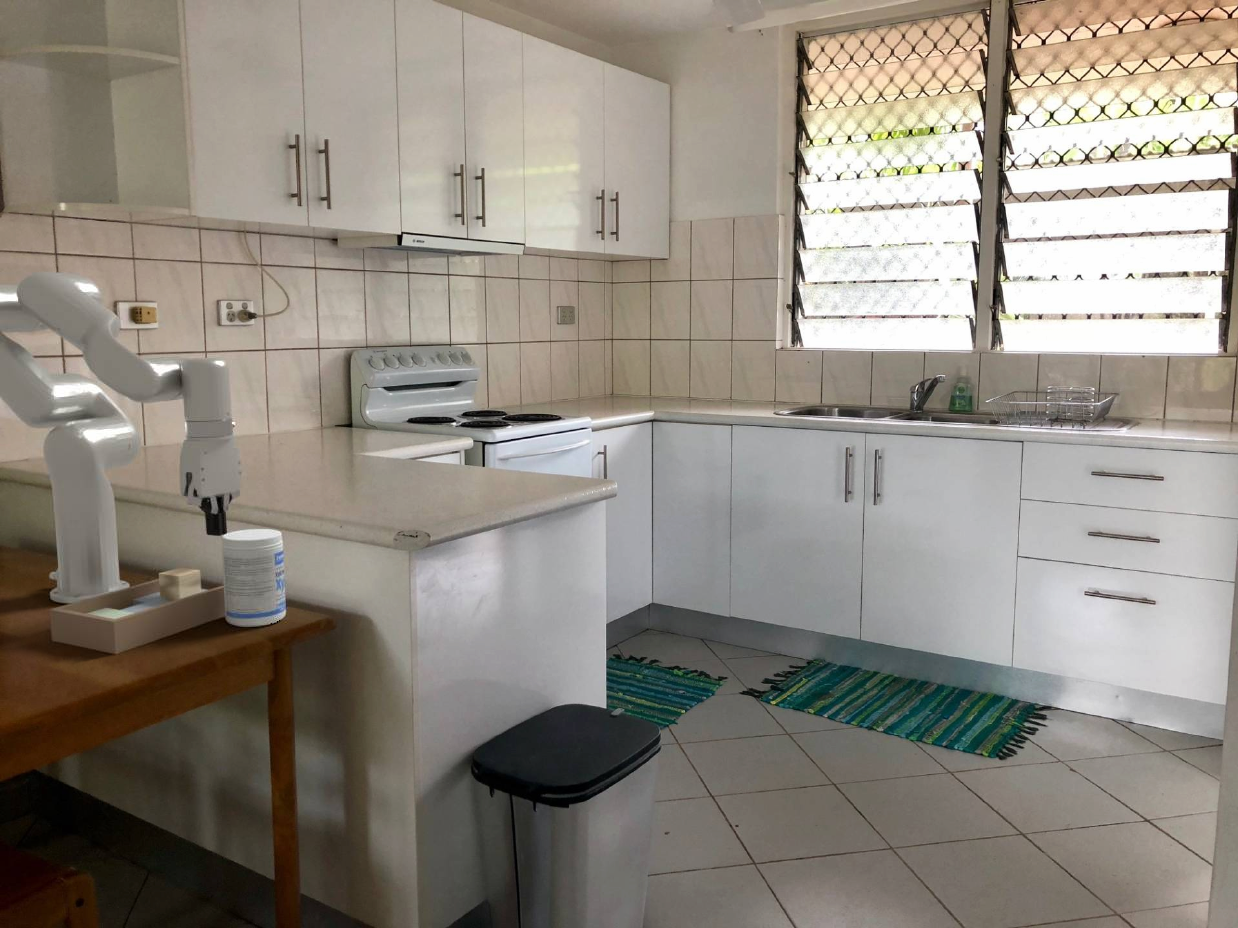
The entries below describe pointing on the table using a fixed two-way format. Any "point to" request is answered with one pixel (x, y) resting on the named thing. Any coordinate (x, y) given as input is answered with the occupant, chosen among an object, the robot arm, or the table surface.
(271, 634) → the table surface
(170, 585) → the maple block
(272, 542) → the supplement tub
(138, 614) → the box
